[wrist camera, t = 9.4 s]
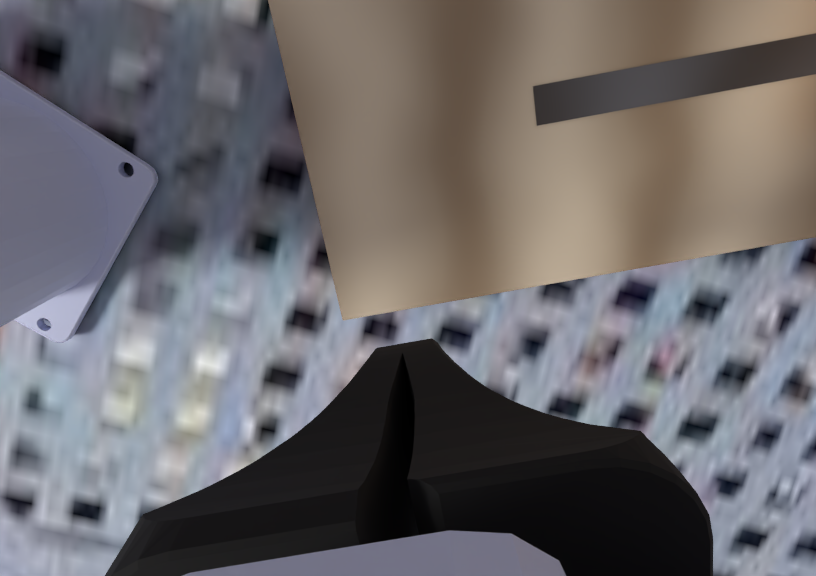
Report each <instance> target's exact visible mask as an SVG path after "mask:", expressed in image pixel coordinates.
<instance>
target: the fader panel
mask: <svg viewBox="0 0 816 576" xmlns="http://www.w3.org/2000/svg"><path fill="white" fill-rule="evenodd" d="M268 2H269V7H270V11H271V15H272V19H273V24H274V28H275V32H276V36H277V41H278V45H279V49H280V54H281V58H282V62H283V66H284V71H285V75H286V79H287V84H288V88H289V92H290V96H291V101H292V105H293V109H294V114H295V118H296V122H297V126H298V131H299V135H300V139H301V143H302V148H303V152H304V156H305V161H306V165H307V169H308V173H309V178H310V182H311V186H312V191H313V195H314V199H315V203H316V208H317V212H318V216H319V221H320V225H321V229H322V233H323V238H324V242H325V246H326V250H327V255H328V259H329V263H330V268H331V272H332V276H333V280H334V285H335V289H336V293H337V298H338V302H339V306H340V310H341V315H342V319H343V320H348V319H354V318H359V317H365V316H371V315H376V314H382V313H388V312H393V311H399V310H405V309H410V308H416V307H422V306H427V305H433V304H439V303H444V302H450V301H456V300H461V299H467V298H473V297H478V296H484V295H490V294H496V293H501V292H507V291H513V290H518V289H524V288H530V287H535V286H541V285H547V284H552V283H558V282H564V281H569V280H575V279H581V278H586V277H592V276H598V275H603V274H609V273H615V272H620V271H626V270H632V269H637V268H643V267H649V266H655V265H660V264H666V263H672V262H677V261H683V260H689V259H694V258H700V257H706V256H711V255H717V254H723V253H728V252H734V251H740V250H745V249H751V248H757V247H762V246H768V245H774V244H779V243H785V242H791V241H797V240H802V239H808V238H814V237H816V0H268Z"/></svg>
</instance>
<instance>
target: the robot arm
mask: <svg viewBox="0 0 816 576" xmlns="http://www.w3.org/2000/svg"><path fill="white" fill-rule="evenodd" d="M126 162H127V163H130V164H131V165H132V166H133V169H134V173H133V175H132V176H129V175H127V174H126V173H125V171H124V164H125V163H126ZM157 182H158V175H157V173H156V171H155V169H154V168H153V167H152V166H151V165H149V164H148V163H146V162H144V161H143V160H141V159H140V158H138V157H136V156H135V155H133V154H132V153H130V152H129V151H127V150H125V149H124V148H122V147H121V146H119V145H118V144H116V143H114V142H113V141H111V140H110V139H108V138H107V137H105V136H103V135H102V134H100V133H99V132H97V131H96V130H94V129H92V128H91V127H89V126H88V125H86V124H85V123H83V122H81V121H80V120H78V119H77V118H75V117H74V116H72V115H70V114H69V113H67V112H66V111H64V110H62V109H61V108H59V107H58V106H56V105H55V104H53V103H51V102H50V101H48V100H47V99H45V98H44V97H42V96H40V95H39V94H37V93H36V92H34V91H33V90H31V89H29V88H28V87H26V86H25V85H23V84H22V83H20V82H18V81H17V80H15V79H14V78H12V77H11V76H9V75H7V74H6V73H4V72H3V71H1V70H0V327H1V326H3V325H5V324H7V323H9V322H10V321H12V320H15V321H16V322H18V323H20V324H22V325H24V326H26V327H28V328H29V329H31V330H33V331H35V332H37V333H39V334H40V335H42V336H44V337H46V338H48V339H50V340H52V341H54V342H57V343H63V342H65V341H67V340H69V339H70V338H71V337H72V336H73V335H74V334H75V332H76V330H77V329H78V327H79V325H80V323H81V321H82V320H83V318H84V316H85V314H86V312H87V310H88V309H89V307H90V305H91V303H92V301H93V300H94V298H95V296H96V294H97V292H98V291H99V289H100V287H101V285H102V283H103V281H104V280H105V278H106V276H107V274H108V272H109V271H110V269H111V267H112V265H113V263H114V262H115V260H116V258H117V256H118V254H119V252H120V251H121V249H122V247H123V245H124V243H125V242H126V240H127V238H128V236H129V234H130V232H131V231H132V229H133V227H134V225H135V223H136V222H137V220H138V218H139V216H140V214H141V213H142V211H143V209H144V207H145V205H146V203H147V202H148V200H149V198H150V196H151V194H152V193H153V191H154V189H155V187H156V185H157ZM44 318H45V319H48V320H49V321H50V323H51V327H50V326H47V325H46V324H45V323H44V321H43V319H44ZM105 576H713V535H712V529H711V523H710V517H709V514H708V512H707V510H706V508H705V507H704V505H703V503H702V501H701V499H700V498H699V496H698V494H697V493H696V491H695V490H694V489H693V488H692V486H691V485H690V484H689V482H688V481H687V480H686V479H685V477H684V476H683V475H682V474H681V472H680V471H679V470H678V469H677V468H676V467H675V466H674V465H673V463H672V462H671V461H670V460H669V459H668V458H667V457H666V456H665V455H664V454H663V453H662V452H661V451H660V450H659V449H658V448H657V447H656V446H655V445H654V444H653V443H652V442H651V441H650V440H649V439H648V438H647V437H646V436H645V435H644V434H643V433H642V432H641V431H636V430H629V429H621V428H613V427H605V426H597V425H590V424H585V423H581V422H576V421H572V420H568V419H563V418H559V417H556V416H552V415H549V414H545V413H542V412H540V411H537V410H534V409H531V408H529V407H526V406H523V405H521V404H518V403H516V402H514V401H511V400H509V399H507V398H505V397H503V396H502V395H500V394H498V393H496V392H494V391H492V390H490V389H488V388H487V387H485V386H484V385H482V384H481V383H480V382H478V381H477V380H475V379H474V378H473V377H471V376H470V375H469V374H468V373H466V372H465V371H464V370H463V369H462V368H461V367H460V366H458V365H457V364H456V363H455V362H454V361H453V360H452V359H451V358H450V357H449V356H448V355H447V354H446V353H445V352H444V351H443V350H442V348H441V347H440V346H439V344H438V343H437V342H436V341H435V340H433V339H426V340H420V341H415V342H409V343H403V344H397V345H392V346H386V347H380V348H376V349H375V351H374V352H373V353H372V354H371V356H370V357H369V358H368V360H367V361H366V362H365V364H364V365H363V366H362V367H361V369H360V370H359V371H358V373H357V374H356V375H355V376H354V377H353V379H352V380H351V381H350V382H349V384H348V385H347V386H346V387H345V388H344V389H343V390H342V391H341V392H340V393H339V394H338V395H337V397H336V398H335V399H334V400H333V401H332V402H331V403H330V404H329V405H328V406H327V407H326V408H325V409H324V410H323V411H322V412H321V413H320V414H319V415H318V416H317V417H315V418H314V419H313V420H312V421H311V422H310V423H309V424H307V425H306V426H305V427H304V428H302V429H301V430H300V431H299V432H298V433H296V434H295V435H294V436H292V437H291V438H290V439H288V440H287V441H285V442H284V443H282V444H281V445H279V446H278V447H276V448H275V449H273V450H272V451H270V452H269V453H267V454H266V455H264V456H263V457H261V458H260V459H258V460H257V461H255V462H253V463H252V464H250V465H248V466H246V467H245V468H243V469H241V470H239V471H238V472H236V473H234V474H232V475H230V476H228V477H226V478H224V479H223V480H221V481H219V482H217V483H215V484H213V485H211V486H209V487H207V488H204V489H202V490H200V491H198V492H196V493H193V494H191V495H189V496H186V497H184V498H182V499H179V500H177V501H174V502H172V503H170V504H167V505H165V506H163V507H160V508H158V509H156V510H153V511H150V512H148V513H145V514H143V516H142V517H141V519H140V520H139V522H138V523H137V525H136V526H135V528H134V529H133V531H132V533H131V534H130V536H129V538H128V539H127V541H126V542H125V544H124V546H123V547H122V549H121V551H120V552H119V554H118V555H117V557H116V559H115V560H114V562H113V563H112V565H111V567H110V568H109V570H108V572H107V573H106V575H105Z"/></svg>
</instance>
